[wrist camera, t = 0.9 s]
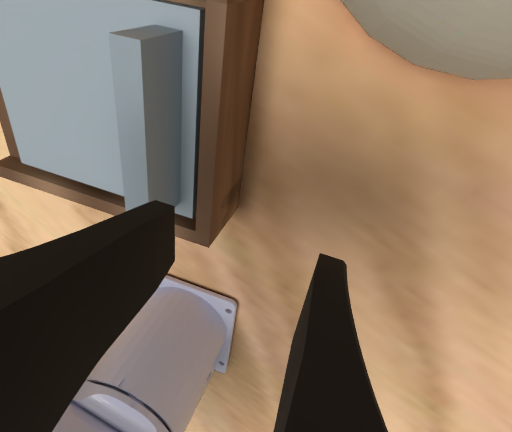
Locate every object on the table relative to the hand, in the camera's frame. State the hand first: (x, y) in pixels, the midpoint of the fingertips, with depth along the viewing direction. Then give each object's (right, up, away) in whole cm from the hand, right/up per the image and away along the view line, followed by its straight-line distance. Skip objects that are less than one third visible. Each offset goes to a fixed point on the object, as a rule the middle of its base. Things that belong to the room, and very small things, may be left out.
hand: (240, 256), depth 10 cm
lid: (-7, +7, +8) cm, 13 cm away
